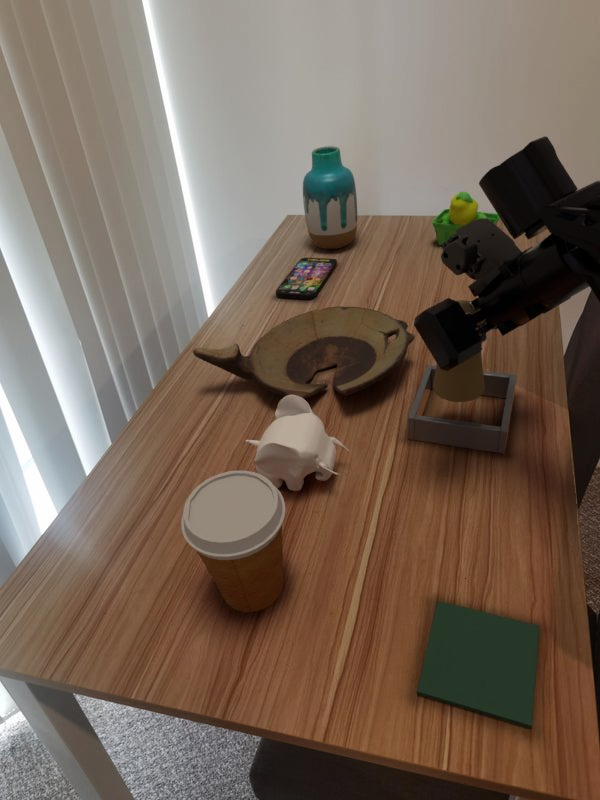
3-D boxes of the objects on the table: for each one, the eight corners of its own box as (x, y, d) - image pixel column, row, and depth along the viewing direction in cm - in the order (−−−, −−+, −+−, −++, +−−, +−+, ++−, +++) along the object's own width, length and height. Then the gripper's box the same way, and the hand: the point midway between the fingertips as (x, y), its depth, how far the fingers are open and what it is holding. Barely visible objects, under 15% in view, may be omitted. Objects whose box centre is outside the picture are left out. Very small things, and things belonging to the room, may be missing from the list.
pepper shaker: (473, 407, 69) (478, 324, 62) (424, 394, 72) (424, 313, 65) (492, 379, 73) (498, 298, 66) (445, 368, 76) (447, 289, 69)
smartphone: (273, 292, 109) (301, 257, 120) (273, 297, 109) (301, 261, 120) (313, 295, 106) (338, 258, 117) (314, 300, 107) (339, 263, 118)
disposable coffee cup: (236, 536, 66) (214, 457, 59) (314, 562, 62) (301, 480, 55) (188, 608, 59) (156, 528, 52) (271, 641, 56) (250, 560, 48)
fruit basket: (499, 238, 118) (504, 181, 111) (484, 257, 113) (489, 197, 106) (444, 232, 124) (446, 177, 117) (427, 249, 118) (428, 192, 111)
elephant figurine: (340, 508, 67) (334, 450, 62) (240, 498, 71) (226, 442, 65) (354, 451, 75) (350, 394, 69) (263, 444, 78) (252, 389, 72)
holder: (514, 395, 80) (516, 374, 77) (504, 454, 71) (507, 431, 69) (426, 385, 84) (426, 364, 81) (408, 439, 75) (407, 417, 73)
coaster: (538, 629, 53) (539, 625, 53) (531, 729, 47) (532, 725, 47) (437, 604, 57) (437, 600, 56) (416, 694, 50) (416, 691, 50)
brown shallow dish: (406, 424, 78) (405, 376, 73) (192, 412, 85) (179, 368, 80) (419, 333, 94) (419, 289, 90) (239, 329, 102) (231, 289, 97)
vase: (298, 251, 125) (286, 156, 113) (326, 232, 131) (318, 140, 119) (341, 259, 119) (333, 160, 108) (368, 239, 126) (364, 143, 114)
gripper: (561, 174, 60) (470, 250, 74) (428, 234, 52) (354, 306, 66) (622, 269, 59) (517, 327, 73) (495, 344, 51) (406, 393, 65)
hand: (451, 336), depth 69 cm, fingers closed on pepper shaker, 5 cm apart
